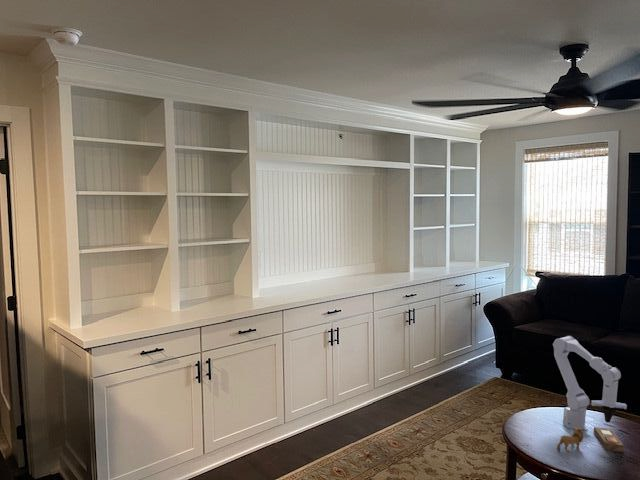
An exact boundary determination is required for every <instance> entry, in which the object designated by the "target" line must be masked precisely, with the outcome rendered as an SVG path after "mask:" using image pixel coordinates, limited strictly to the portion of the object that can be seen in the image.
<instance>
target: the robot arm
mask: <svg viewBox="0 0 640 480" xmlns="http://www.w3.org/2000/svg"><path fill="white" fill-rule="evenodd" d="M552 346H553V355H554V358H555V361H556V364H557V367H558V369H559V371H560V374H561V377H562V378H563V381H564V384H565V388H566V389H567V392H566V394H565V396H566V398H567V399H566V401H567V402H566V403H567V406H565V407H564V408H563V417H562V422H563V424H564V425H565V427H566V428H567V429H573V430H574V429H575V428H577V427H578V428H581V429H582V431H583V430H584V431H588V428H587V426H586V416H587V415H586V414H587V407H588V406H589V405H590V402H591V406H593V407H595V406H597V407H601V409H602V411H603V415H604V421H605V422H606V423H611V421H612V418H613V416H614V415H615V413H617V409H624V410H627V407H628V405H627V404H626V403H622V402H617V399H618V398H617V397H618V386H619V380H620V379H621V377H622V374H621V371H620V369H619V368H617V367H616V366H615V367H613V366H612V365H610V364H608V363H607V362H605V360H603V358H602V357H599V356H594V355H593V354H591V353H590V352H589V351H588V349H585V348H584V347H583V346H582V345H581V344H580V343H579V341H578V340H577V339H575V338H574V337H573V336H572V335H566V336H564V337H560V338H559V337H558V338H556V339H555V340H554V341H553V343H552ZM570 352H571V353H572V352H574V353H576V354H577V355H579V356H580V357H582V358H583V359H585V361H587V362H588V363H589V366H590V367H591V368H592V369H593V370H595V371H596V372H597V374H599V375H601V378H602V380H603V386H602V398H601V400H597V399H596V400H594V399H593V400H590V398H589V396H588V395H587V394H586V393H585V391H584V389H582V388H581V387H580V386H579V383H578V381H577V377H576V375H575V373H574V371H573V369H572V366H571V363H570V361H569V359H568V355H569V353H570Z"/></svg>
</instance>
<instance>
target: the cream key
mask: <svg viewBox="0 0 640 480" xmlns="http://www.w3.org/2000/svg"><path fill="white" fill-rule="evenodd" d="M600 431H601V433H602V434H605V435H612V433H611V432H610V431H606V430H600Z"/></svg>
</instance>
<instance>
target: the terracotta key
mask: <svg viewBox="0 0 640 480" xmlns="http://www.w3.org/2000/svg"><path fill="white" fill-rule="evenodd" d="M605 438H606V440H607V441H608V442H616V443H618V441H617V440H616V439H615V438H611V437H605Z"/></svg>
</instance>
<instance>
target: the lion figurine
mask: <svg viewBox="0 0 640 480" xmlns="http://www.w3.org/2000/svg"><path fill="white" fill-rule="evenodd" d="M583 439H584V431H583V430H582V429H581V428H578V427H577V428H575V429H573V433H572V435H563V436H560V440H559V443H558V444H557V446H556V447H557V448H556V449H557V452H558V453H559V452H560V451H561V446H562V445H564V450H565V451H566V453H570V450H569V449H568V447H569V445H570V447H571V448H573V449H574V448H575V449H576V450H577V451H580V443H581V442H583ZM575 445H576V447H575Z"/></svg>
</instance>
